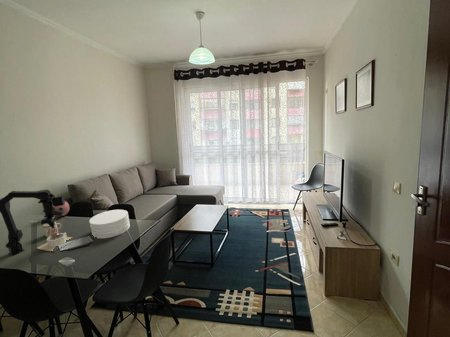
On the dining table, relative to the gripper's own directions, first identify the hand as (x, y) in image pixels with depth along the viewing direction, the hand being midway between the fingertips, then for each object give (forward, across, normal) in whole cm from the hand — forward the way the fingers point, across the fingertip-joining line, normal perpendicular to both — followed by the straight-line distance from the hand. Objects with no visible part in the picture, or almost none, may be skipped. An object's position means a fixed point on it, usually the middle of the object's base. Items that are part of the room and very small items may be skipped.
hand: (53, 227), depth 184 cm
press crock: (+13, 0, 0) cm, 13 cm away
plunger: (+12, 0, 0) cm, 12 cm away
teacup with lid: (+13, +22, +9) cm, 27 cm away
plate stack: (+13, +8, -36) cm, 39 cm away
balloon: (+13, +61, +16) cm, 65 cm away
